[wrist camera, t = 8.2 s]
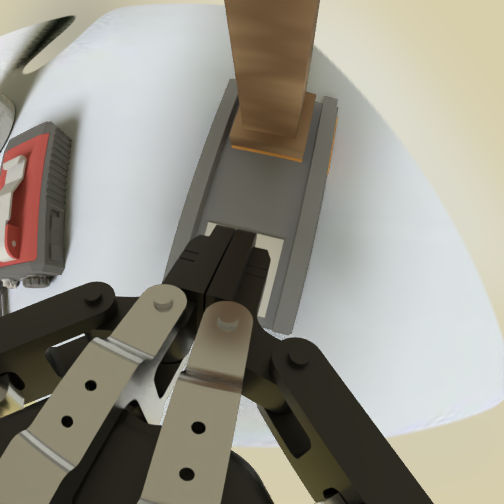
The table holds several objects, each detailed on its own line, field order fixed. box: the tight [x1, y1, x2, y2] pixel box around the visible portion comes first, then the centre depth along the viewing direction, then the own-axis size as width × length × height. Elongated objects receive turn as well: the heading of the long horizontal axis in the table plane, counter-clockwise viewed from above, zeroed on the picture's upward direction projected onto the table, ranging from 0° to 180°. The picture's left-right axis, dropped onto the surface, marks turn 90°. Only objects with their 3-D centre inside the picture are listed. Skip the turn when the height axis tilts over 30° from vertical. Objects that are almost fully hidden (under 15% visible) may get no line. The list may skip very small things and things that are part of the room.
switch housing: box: [162, 79, 338, 335], centre depth 16 cm, size 7×14×3 cm, turn 166°
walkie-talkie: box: [0, 122, 72, 317], centre depth 17 cm, size 9×4×20 cm
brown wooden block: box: [224, 0, 320, 159], centre depth 11 cm, size 4×4×10 cm
